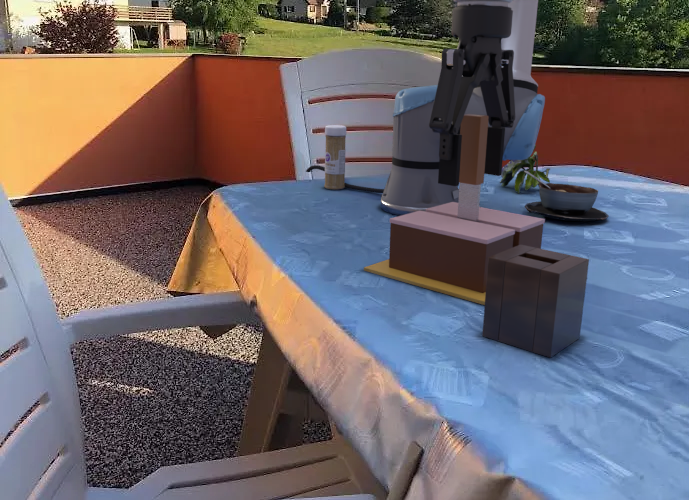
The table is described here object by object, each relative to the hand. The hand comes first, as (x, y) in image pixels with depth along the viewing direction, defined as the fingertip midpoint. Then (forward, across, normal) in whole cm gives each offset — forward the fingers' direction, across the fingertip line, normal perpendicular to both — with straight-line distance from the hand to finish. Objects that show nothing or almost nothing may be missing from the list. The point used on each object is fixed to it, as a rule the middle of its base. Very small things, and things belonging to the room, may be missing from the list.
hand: (470, 179), depth 95 cm
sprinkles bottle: (+13, +30, +52) cm, 61 cm away
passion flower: (+13, +60, +23) cm, 66 cm away
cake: (+13, 0, 0) cm, 13 cm away
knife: (+12, 0, 0) cm, 12 cm away
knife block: (+13, -15, -18) cm, 27 cm away
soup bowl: (+13, +42, +5) cm, 44 cm away
